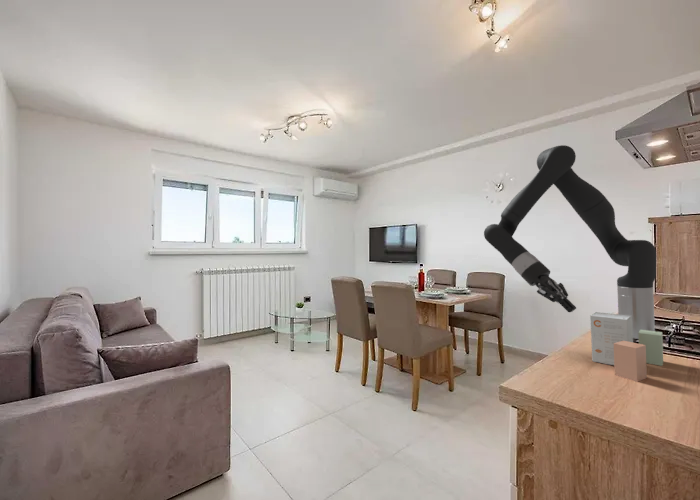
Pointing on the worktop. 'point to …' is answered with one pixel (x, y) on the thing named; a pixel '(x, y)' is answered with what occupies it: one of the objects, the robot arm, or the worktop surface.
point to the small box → (608, 334)
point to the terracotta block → (630, 360)
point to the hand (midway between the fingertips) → (573, 310)
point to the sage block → (652, 346)
